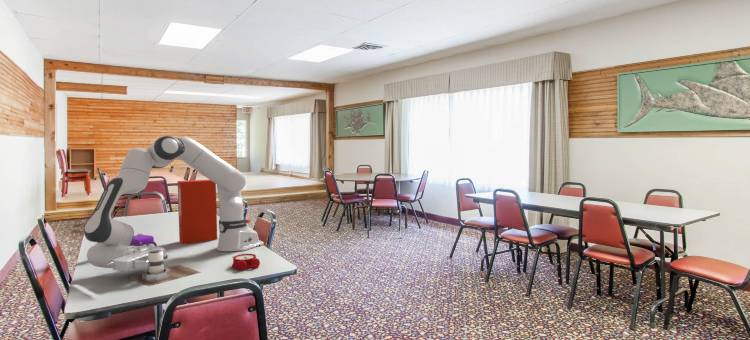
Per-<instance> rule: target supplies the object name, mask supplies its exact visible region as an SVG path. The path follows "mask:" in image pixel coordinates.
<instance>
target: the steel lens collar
mask: <svg viewBox="0 0 750 340" xmlns="http://www.w3.org/2000/svg"><path fill="white" fill-rule="evenodd" d="M167 268H168V267H164V272H163V273H159V274H149V269H148V270H145V271H144V272H142V273H141V274H142V280H143V281H146V282H157V281H161V280H165V279H168V278H169V277H170V269H167Z"/></svg>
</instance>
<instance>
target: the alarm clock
mask: <svg viewBox="0 0 750 340" xmlns="http://www.w3.org/2000/svg"><path fill="white" fill-rule="evenodd" d="M232 258H233V259H232V261H233V262H232V263H231V268H233V269H235V270H237V271H245V270H246V269H247V270H248V269H257V268H258V267H259V266H260V264H261V262H260V259H259V258H258V257H257V256H256V254H255V253H240V254H237V255H234V256H232Z"/></svg>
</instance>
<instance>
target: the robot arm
mask: <svg viewBox="0 0 750 340" xmlns="http://www.w3.org/2000/svg"><path fill="white" fill-rule="evenodd" d="M176 159H177V160H180V161H182V162H183V163H185V164H186V165H188V166H189V167H191V168H192V169H193V170H195V171H196V172H197V173H199V174H200V175H202V176H204V177H205V178H206V179H207V180H208V179H210V180H211V181H213V182H214V183H216V193H217V198H218V207H219V208H218V209H219V220H218V231H219V234H218V235H219V236H218V242H217V248H216V250H217V251H219V252H242V251H247V250H250V249H254V248H257V247H260V246H263V245H264V242H263V241H262V240H259V239H260V237H259V235H258V232H257V231H256V230H254V229H252V228H251V227H249V226H248V224H250V223H251V219H249V218H245V217H244V201H243V197H242V192H241V190H243V189H244V188H245V186H246V183H247V182H246V181H247V179H246V177H245V175H244V173H243V172H242V171H240V170H238V169H237V168H236V167H234V166H232V165H231V164H229V163H228V162H227V161H226V160H224V159H222V158H221V157H219V156H218V155H217V154H216V153H213V152H212V151H211V150H210V149H208V148H207V147H205V146H204V145H203V144H201V143H200V142H198V141H197V140H195V139H193V138H190V137H189V136H185V135H184V136H179V137H178V138H177V137H174V136H172V135H171V136H170V135H164V136H161V137H158V138H157V139H156V140H155V141H153V142H152V143H151V144H150V145H149V147H148V148H147V149H146V148H142V147H133V148H131V149H130V150H129V151H128V152H127V154H126V155H125V157H124V159H123V160H122V164H121V166H120V169H119V172H118V174H117V176H115V177H114V178H112V179H110V181H109V182H108V183H107V184H106V187H105V188H104V189H103V192H102V193H101V195H100V197H99V200H98V202H97V203H96V206H95V207H94V209H95V210H93V212H92V213H91V215H90V216H89V218H87V221H86V222H85V224H84V227H83V234H84V237H85V239H86V240H87V241H89V242H92V243H95V244H94V245H92V246H90V248H88V250H87V252H86V258H87V261H88V263H90V265H92V266H95V267H97V268H102V269H112V270H113V271H119V272H128V271H130V270H133V269H135V268H136V269H137V268H140V267H149V266H148V265H150V261H149V260H148V252H150V251H154V250H163V259H164V260H167V259H169V253H166V249H165V248H164V247H160V246H157V247H154V246H147V245H137V246H130V245H131V243H132V240H133V237H134V236H135V231H134V229H133V226H132V225H130V224H128V223H125V222H122V221H120V220H119V221H118V220H116V219H114V218H113V219H112V218H111V213H112V211H113V209H115V206H116V204H117V202H118V200H119V198H120V197H121V196H122V195H132V194H134V195H135V194H138V193H140V192H141V191H143V190H145V189H146V187H147V185H148V183H149V180H150V177H151V171H152V169H163V168H165V167H167V166H168V165H170V164H171V163H172V162H174V161H175V160H176ZM259 245H260V246H259ZM256 246H257V247H256Z"/></svg>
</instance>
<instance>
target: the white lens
mask: <svg viewBox="0 0 750 340" xmlns="http://www.w3.org/2000/svg"><path fill="white" fill-rule="evenodd" d="M148 260H149V261H150V265H148V266H147V267H148V270H149V274H159V273H163V272H164V268H165V267H164V266H165V265H164V261H165V259H163V250H154V251H150V252H148Z"/></svg>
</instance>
